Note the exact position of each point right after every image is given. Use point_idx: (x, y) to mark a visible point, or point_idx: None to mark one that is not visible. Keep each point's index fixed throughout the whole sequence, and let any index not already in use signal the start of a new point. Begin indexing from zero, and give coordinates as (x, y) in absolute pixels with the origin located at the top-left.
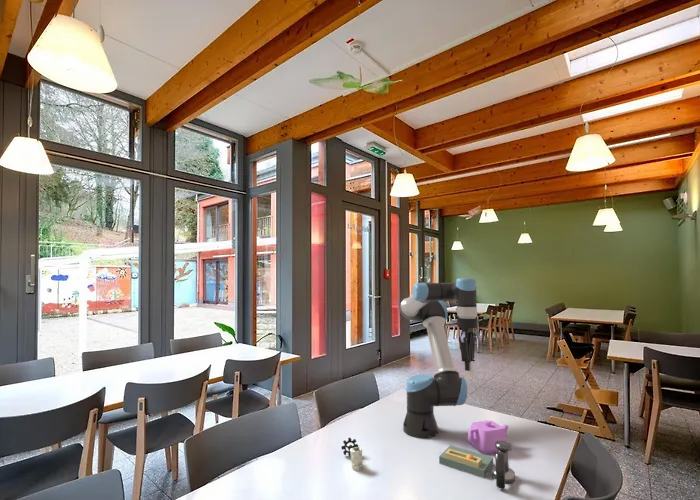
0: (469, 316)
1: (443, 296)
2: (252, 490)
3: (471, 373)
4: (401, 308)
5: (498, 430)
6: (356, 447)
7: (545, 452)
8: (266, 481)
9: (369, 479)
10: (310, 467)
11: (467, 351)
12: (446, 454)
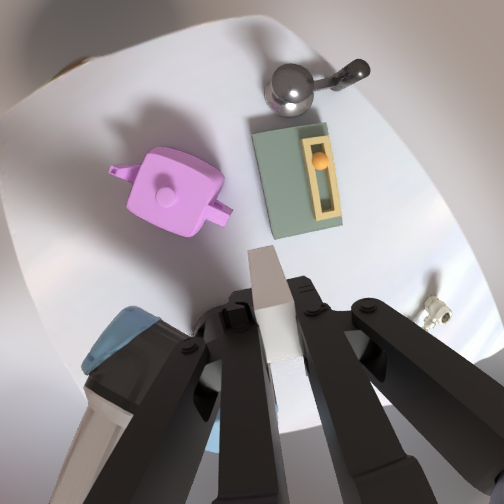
0: None
1: None
2: (497, 325)
3: (278, 259)
4: None
5: (171, 157)
6: (442, 322)
7: (104, 95)
8: (484, 333)
9: (444, 268)
10: (452, 336)
11: (444, 358)
12: (340, 211)
